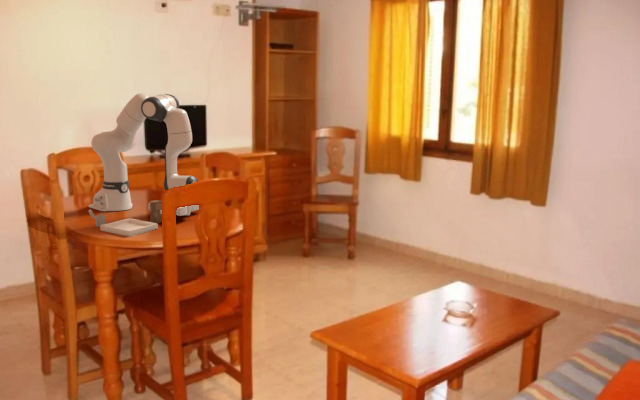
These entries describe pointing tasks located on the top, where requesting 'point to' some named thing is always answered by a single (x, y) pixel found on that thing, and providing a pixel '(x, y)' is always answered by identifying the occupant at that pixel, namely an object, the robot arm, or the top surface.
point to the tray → (129, 227)
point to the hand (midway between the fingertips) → (155, 211)
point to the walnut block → (155, 211)
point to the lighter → (98, 218)
